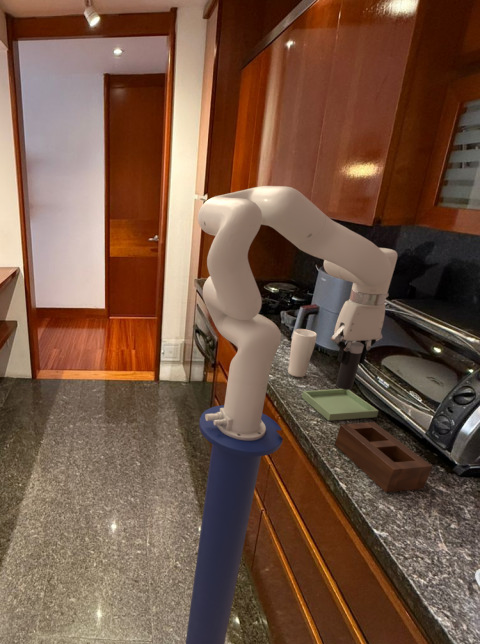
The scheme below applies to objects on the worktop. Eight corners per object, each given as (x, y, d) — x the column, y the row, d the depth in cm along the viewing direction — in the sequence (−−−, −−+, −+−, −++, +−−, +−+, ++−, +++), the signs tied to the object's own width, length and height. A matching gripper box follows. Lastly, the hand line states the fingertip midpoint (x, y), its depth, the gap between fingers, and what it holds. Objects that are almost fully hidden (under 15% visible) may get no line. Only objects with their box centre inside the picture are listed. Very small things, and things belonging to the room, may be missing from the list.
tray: (328, 420, 104) (330, 414, 103) (301, 397, 115) (302, 391, 115) (376, 417, 106) (378, 410, 105) (345, 394, 117) (346, 388, 116)
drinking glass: (311, 378, 126) (321, 336, 120) (290, 379, 126) (300, 336, 120) (301, 369, 132) (310, 328, 126) (281, 369, 132) (289, 328, 126)
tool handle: (342, 390, 106) (353, 347, 101) (332, 383, 110) (342, 341, 105) (355, 389, 106) (367, 346, 101) (345, 382, 110) (356, 340, 105)
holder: (385, 492, 81) (393, 469, 78) (334, 444, 95) (340, 424, 93) (423, 488, 81) (432, 466, 79) (367, 442, 96) (374, 421, 94)
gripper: (385, 292, 103) (367, 354, 110) (326, 294, 101) (312, 358, 108) (409, 300, 96) (389, 366, 103) (347, 303, 94) (330, 370, 101)
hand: (350, 361), depth 105 cm, fingers closed on tool handle, 4 cm apart
